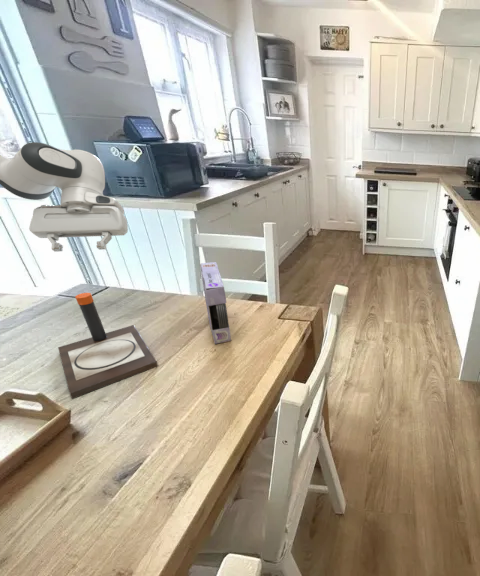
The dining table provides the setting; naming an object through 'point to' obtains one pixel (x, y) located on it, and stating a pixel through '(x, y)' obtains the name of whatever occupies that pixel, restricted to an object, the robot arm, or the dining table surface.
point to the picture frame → (105, 360)
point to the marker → (91, 316)
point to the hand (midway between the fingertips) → (79, 249)
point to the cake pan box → (215, 302)
